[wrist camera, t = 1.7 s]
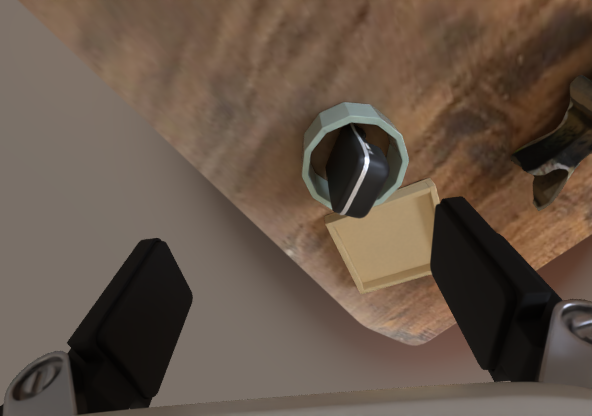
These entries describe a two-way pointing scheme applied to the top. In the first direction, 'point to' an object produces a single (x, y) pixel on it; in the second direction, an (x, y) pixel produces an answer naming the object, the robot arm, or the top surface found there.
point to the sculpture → (559, 146)
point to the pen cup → (337, 119)
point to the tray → (388, 238)
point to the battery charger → (355, 173)
